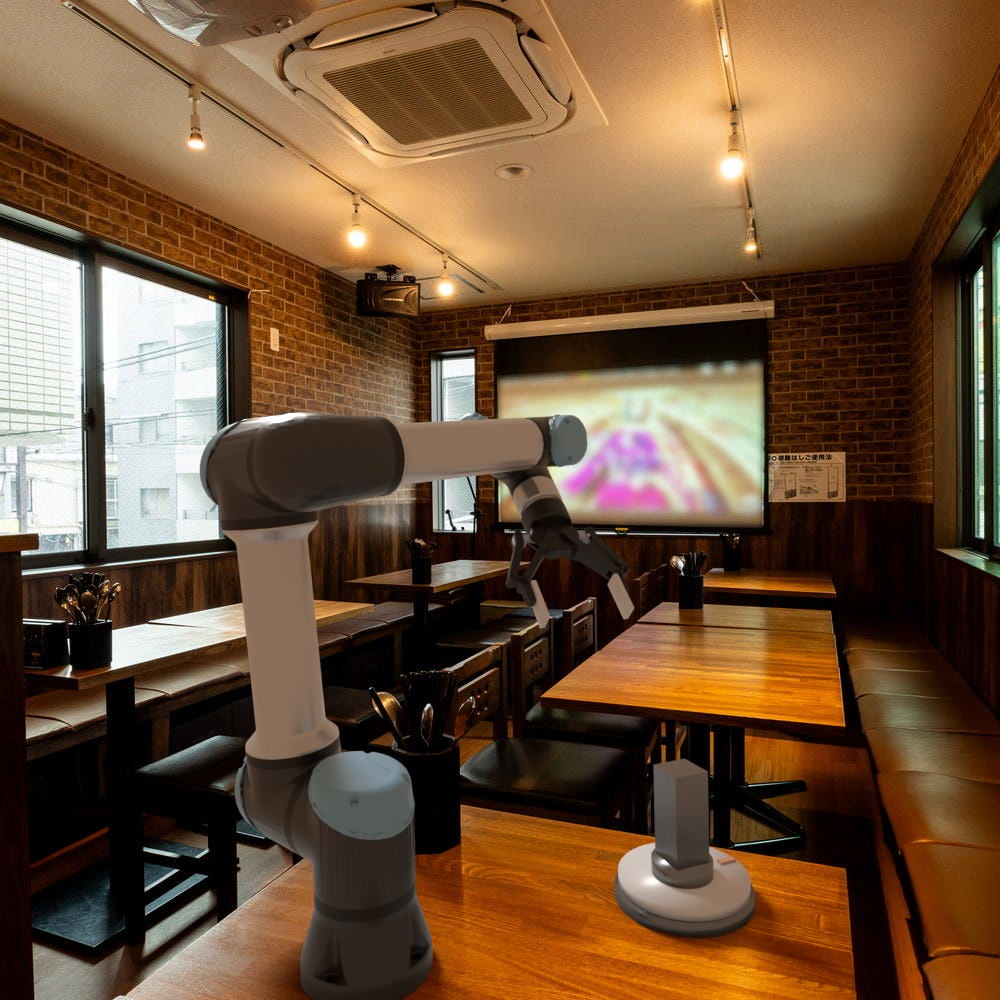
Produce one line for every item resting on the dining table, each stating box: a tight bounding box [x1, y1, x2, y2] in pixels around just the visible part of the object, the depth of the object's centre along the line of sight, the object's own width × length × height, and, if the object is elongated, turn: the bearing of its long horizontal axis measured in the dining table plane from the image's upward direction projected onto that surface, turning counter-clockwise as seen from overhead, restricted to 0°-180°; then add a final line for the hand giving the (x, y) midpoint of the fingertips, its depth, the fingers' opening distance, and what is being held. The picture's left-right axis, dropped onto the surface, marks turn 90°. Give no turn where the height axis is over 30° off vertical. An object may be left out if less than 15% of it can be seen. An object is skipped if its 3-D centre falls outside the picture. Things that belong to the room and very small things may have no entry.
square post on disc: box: [651, 758, 714, 889], centre depth 98 cm, size 8×8×14 cm
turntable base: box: [614, 871, 756, 939], centre depth 99 cm, size 18×18×2 cm
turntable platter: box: [617, 842, 751, 922], centre depth 99 cm, size 17×17×2 cm
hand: (588, 618), depth 107 cm, fingers open, 13 cm apart
